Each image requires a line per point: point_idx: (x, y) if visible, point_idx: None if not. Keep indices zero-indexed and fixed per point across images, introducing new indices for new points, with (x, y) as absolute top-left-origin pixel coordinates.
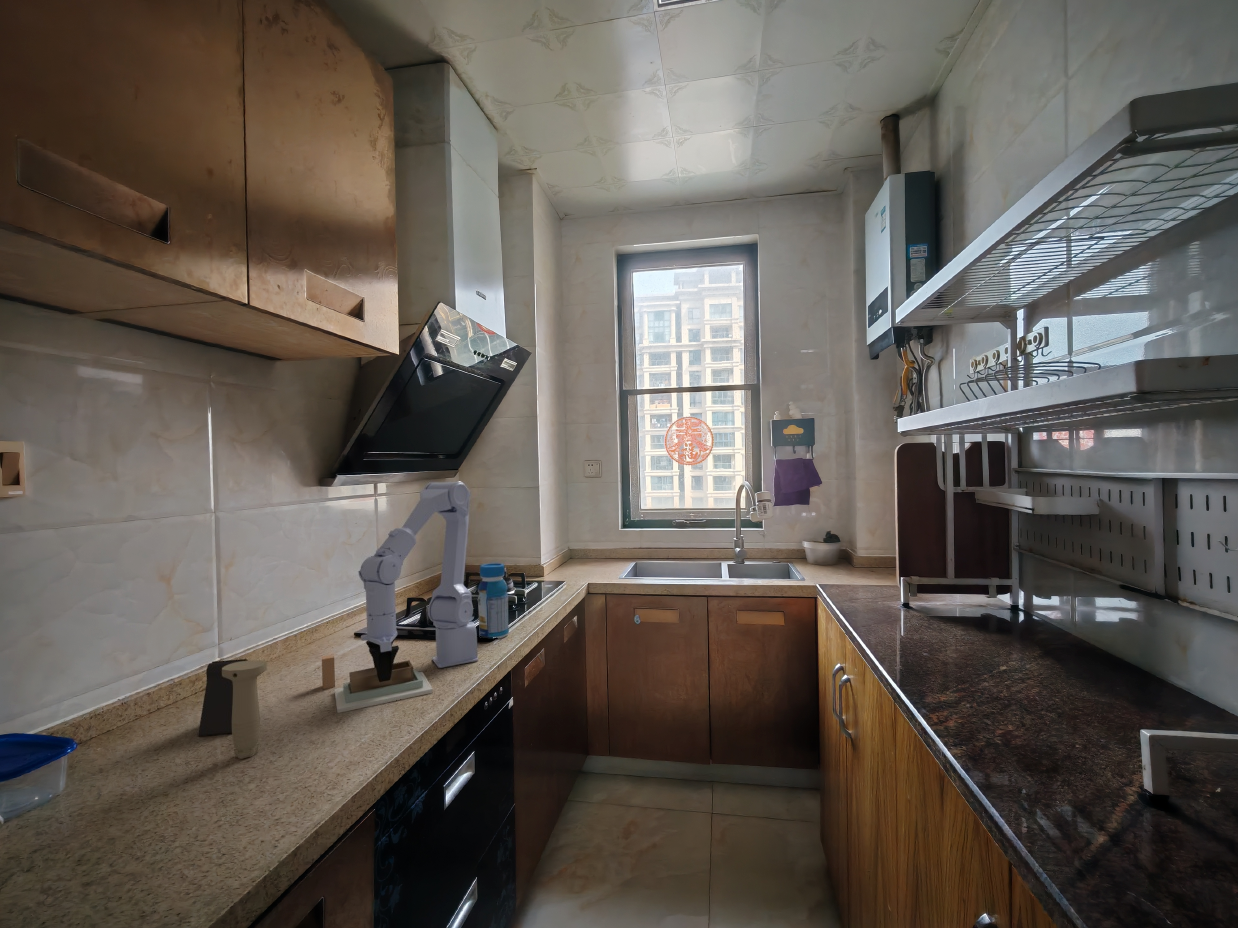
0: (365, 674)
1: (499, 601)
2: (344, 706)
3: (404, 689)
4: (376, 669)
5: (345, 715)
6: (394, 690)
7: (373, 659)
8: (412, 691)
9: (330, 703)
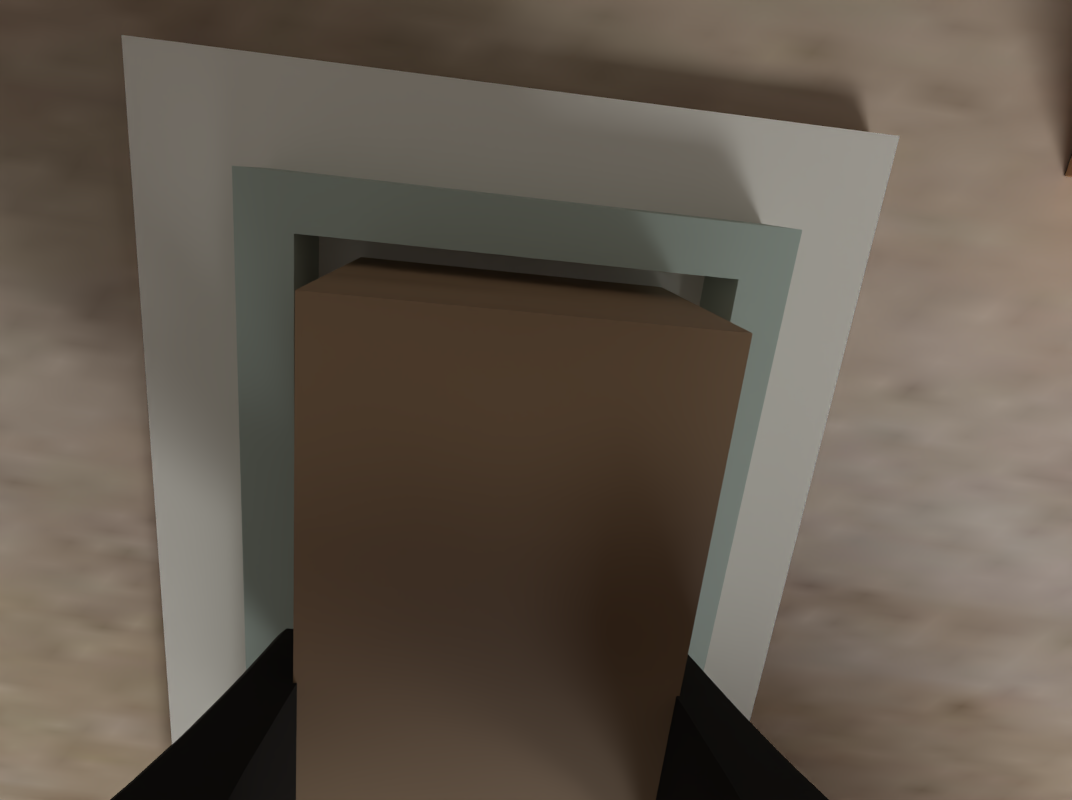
0: (416, 538)
1: None
2: (167, 135)
3: None
4: (169, 752)
5: (19, 119)
6: None
7: (735, 792)
8: None
9: (545, 28)
